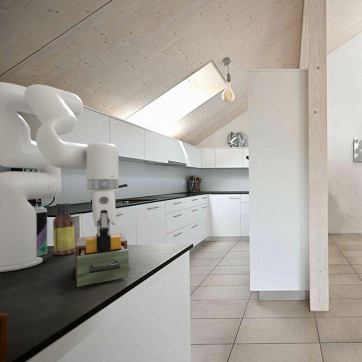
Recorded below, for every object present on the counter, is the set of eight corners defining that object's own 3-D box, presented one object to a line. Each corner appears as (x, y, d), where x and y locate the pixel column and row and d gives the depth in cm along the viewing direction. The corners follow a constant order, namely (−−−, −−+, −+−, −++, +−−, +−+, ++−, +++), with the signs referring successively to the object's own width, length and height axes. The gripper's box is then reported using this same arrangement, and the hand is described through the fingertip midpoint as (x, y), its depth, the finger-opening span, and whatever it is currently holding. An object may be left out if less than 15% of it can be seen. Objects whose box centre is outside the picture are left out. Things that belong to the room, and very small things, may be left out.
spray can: (32, 257, 95) (32, 203, 95) (23, 255, 97) (23, 203, 97) (50, 253, 101) (50, 202, 101) (42, 252, 102) (42, 202, 102)
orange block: (85, 253, 71) (85, 240, 71) (86, 249, 74) (86, 237, 74) (120, 248, 76) (120, 236, 76) (119, 245, 79) (119, 234, 79)
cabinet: (127, 270, 82) (127, 240, 82) (75, 279, 74) (75, 246, 74) (122, 259, 93) (122, 232, 93) (77, 266, 85) (77, 237, 85)
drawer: (130, 282, 70) (130, 253, 70) (76, 293, 63) (76, 261, 63) (123, 264, 84) (123, 241, 84) (78, 272, 77) (78, 246, 77)
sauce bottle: (79, 251, 103) (79, 202, 103) (64, 256, 97) (63, 203, 97) (64, 251, 104) (64, 202, 104) (48, 255, 98) (48, 203, 98)
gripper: (121, 186, 71) (121, 252, 71) (116, 185, 84) (116, 241, 84) (86, 186, 66) (86, 257, 66) (86, 185, 79) (87, 245, 79)
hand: (103, 247), depth 75 cm, fingers closed on orange block, 4 cm apart
